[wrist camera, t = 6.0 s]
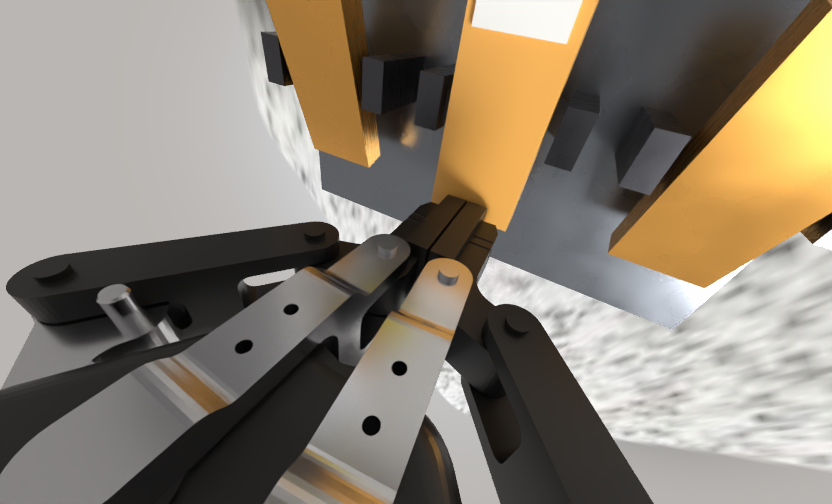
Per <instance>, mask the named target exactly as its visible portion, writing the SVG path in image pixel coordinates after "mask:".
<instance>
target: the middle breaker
mask: <svg viewBox="0 0 832 504" xmlns="http://www.w3.org/2000/svg"><path fill="white" fill-rule="evenodd" d="M598 3H599V0H468V1H467V7H466V12H465V18H464V23H463V29H462V34H461V40H460V45H459V51H458V56H457V62H456V67H455V73H454V78H453V84H452V89H451V95H450V100H449V106H448V111H447V117H446V122H445V128H444V133H443V139H442V144H441V150H440V155H439V161H438V166H437V172H436V177H435V183H434V188H433V194H432V199H431V202H433V203H436V204H439V203H440V202H441V201H442V200H443V199H444V198H445V197H446V196H447V195H448V194H449V195H452V196H455V197H458V198H461V199H464V200H466V201H467V202H468V201H469V202H472V203H475V204H478V205H481V206H483V207H486V208H487V212H486V215H485V218H484V221H485V222H488V223H490V224H493V225H496V228H497V229H500V230H502V231H506V229H507V227H508V225H509V223H510V221H511V219H512V216H513V214H514V211H515V209H516V206H517V204H518V201H519V199H520V196H521V194H522V191H523V189H524V186H525V184H526V181H527V179H528V176H529V174H530V171H531V169H532V166H533V164H534V162H535V159H536V157H537V154H538V152H539V149H540V147H541V144H542V142H543V139H544V137H545V134H546V132H547V129H548V127H549V124H550V122H551V119H552V117H553V114H554V112H555V109H556V107H557V104H558V102H559V99H560V97H561V94H562V92H563V89H564V87H565V84H566V82H567V80H568V77H569V75H570V72H571V70H572V67H573V65H574V62H575V60H576V57H577V55H578V52H579V50H580V47H581V45H582V42H583V40H584V37H585V35H586V32H587V30H588V27H589V25H590V22H591V20H592V17H593V15H594V12H595V10H596V7H597V5H598Z"/></svg>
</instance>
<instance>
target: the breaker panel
mask: <svg viewBox="0 0 832 504" xmlns="http://www.w3.org/2000/svg"><path fill="white" fill-rule="evenodd" d="M467 1H468V0H266V2H267V5H268V8H269V11H270V14H271V17H272V20H273V23H274V26H275V29H276V32H261V36H262V42H263V49H264V55H265V61H266V67H267V73H268V79H269V82H273V83H276V84H279V85H283V86H287V85H293V84H294V87H295V90H296V93H297V96H298V99H299V102H300V105H301V108H302V111H303V114H304V117H305V121H306V124H307V127H308V130H309V133H310V136H311V139H312V142H313V145H314V148H315V149H318V150H319V156H320V169H321V182H322V189H323V190H325V191H328V192H330V193H333V194H335V195H338V196H340V197H343V198H345V199H348V200H350V201H353V202H355V203H358V204H360V205H363V206H365V207H368V208H370V209H373V210H375V211H378V212H380V213H383V214H385V215H388V216H390V217H393V218H395V219H398V220H400V221H405V220H406V219H408V217H409V216H410V215H411V214H412V213H413V212H414V211H415V210H416V209H417V208H418V207H419V206H420V205H423V204H426V203H429V202H431V199H432V194H433V188H434V183H435V177H436V172H437V166H438V161H439V155H440V150H441V144H442V139H443V133H444V128H445V122H446V117H447V111H448V106H449V100H450V95H451V89H452V84H453V78H454V73H455V67H456V62H457V56H458V51H459V45H460V40H461V34H462V29H463V23H464V18H465V12H466V7H467ZM496 229H497V228H496ZM798 232H801V233H802V234H803V235H804V236H805V237H806V238H807V239H808V240H809V241H810V242H811V243H812V244H814V245H817V246H820V247H824V248H827V249H830V250H832V0H599V3H598V5H597V7H596V10H595V12H594V15H593V17H592V20H591V22H590V25H589V27H588V30H587V32H586V35H585V37H584V40H583V42H582V45H581V47H580V50H579V52H578V55H577V57H576V60H575V62H574V65H573V67H572V70H571V72H570V75H569V77H568V80H567V82H566V84H565V87H564V89H563V92H562V94H561V97H560V99H559V102H558V104H557V107H556V109H555V112H554V114H553V117H552V119H551V122H550V124H549V127H548V129H547V132H546V134H545V137H544V139H543V142H542V144H541V147H540V149H539V152H538V154H537V157H536V159H535V162H534V164H533V166H532V169H531V171H530V174H529V176H528V179H527V181H526V184H525V186H524V189H523V191H522V194H521V196H520V199H519V201H518V204H517V206H516V209H515V211H514V214H513V216H512V219H511V221H510V223H509V225H508V227H507V229H506V231H502V230H500V229H497V233H498V236H497V238H496V241H495V244H494V246H493V249H492V251H491V254H490V257H492V258H495V259H497V260H500V261H502V262H505V263H507V264H510V265H512V266H515V267H517V268H520V269H522V270H525V271H527V272H530V273H532V274H535V275H537V276H540V277H542V278H545V279H547V280H550V281H552V282H555V283H557V284H560V285H562V286H565V287H567V288H570V289H572V290H575V291H577V292H579V293H582V294H584V295H587V296H589V297H592V298H594V299H597V300H599V301H602V302H604V303H607V304H609V305H612V306H614V307H617V308H619V309H622V310H624V311H627V312H629V313H632V314H634V315H637V316H639V317H642V318H644V319H647V320H649V321H652V322H654V323H657V324H659V325H662V326H664V327H667V328H669V329H672V330H673V329H674V328H675V327H677V326H678V325H679V324H680V323H681V322H682V321H683V320H685V319H686V318H687V317H688V316H689V315H690V314H691V313H693V312H694V311H695V310H696V309H697V308H698V307H699V306H701V305H702V304H703V303H704V302H705V301H706V300H707V299H708V298H710V297H711V296H712V295H713V294H714V293H715V292H716V291H718V290H719V289H720V288H721V287H722V286H723V285H724V284H726V283H727V282H728V281H729V280H730V279H731V278H732V277H734V276H735V275H736V274H737V273H738V272H739V271H740V270H742V269H743V268H744V267H745V266H746V265H747V264H748V263H750V262H751V261H752V260H753V259H755V258H756V257H758V256H760V255H761V254H763V253H765V252H766V251H768V250H770V249H771V248H773V247H775V246H776V245H778V244H780V243H781V242H783V241H785V240H786V239H788V238H790V237H791V236H793V235H795V234H796V233H798Z"/></svg>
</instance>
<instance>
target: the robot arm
mask: <svg viewBox="0 0 832 504" xmlns="http://www.w3.org/2000/svg"><path fill="white" fill-rule="evenodd" d="M486 212H487V208H486V207H483V206H481V205H478V204H475V203H472V202H469V201H468V202H467V201H466V200H464V199H461V198H458V197H455V196H452V195H449V194H448V195H447V196H446V197H445V198H444V199H443V200H442V201H441V202H440V203H439V204H436V203H433V202H429V203H426V204H423V205H420V206H419V207H418V208H417V209H416V210H415V211H414V212H413V213H412V214H411V215H410V216H409V217H408V219H406V220H405V221H403V222H402V223H401V224H400V225H399V226H398V227H397V228H396V229H395V230H394V231H393V232H392V233H391V234H380V235H375V236H372V237H370V238H369V239H367V240H366V241H365V242H363V243H362V244H355V243H350V242H344V241H339V232H338V230H337V229H336V228H335V227H334V226H333V225H330V224H328V223H324V222H306V223H298V224H291V225H283V226H276V227H268V228H261V229H254V230H246V231H239V232H230V233H223V234H215V235H208V236H200V237H193V238H185V239H178V240H170V241H163V242H155V243H147V244H140V245H133V246H125V247H117V248H109V249H102V250H94V251H87V252H79V253H72V254H64V255H59V256H54V257H50V258H47V259H44V260H41V261H38V262H36V263H33V264H31V265H29V266H27V267H25V268H23V269H22V270H20V271H19V272H17V273H16V274H15V275H13V276H12V278H11V279H10V280H9V281H8V282H7V285H6V290H7V292H8V293H9V294H10V295H11V296H12V297H13V298H14V299H15V300H16V301H17V302H18V303H19V304H20V305H21V306H22V307H23V308H24V309H25V310H27V312H29V313H30V314H31V315H32V318H33V320H34V322H35V324H34V327H33V329H32V331H31V333H30V334H29V336H28V338H27V340H26V342H25V344H24V346H23V348H22V350H21V352H20V354H19V356H18V358H17V359H16V361H15V363H14V365H13V367H12V369H11V371H10V373H9V375H8V377H7V379H6V381H5V383H4V385H3V387H2V388H1V390H0V504H462V503H461V498H460V493H459V489H458V484H457V480H456V475H455V471H454V467H453V463H452V461H451V458H450V455H449V452H448V449H447V447H446V445H445V443H444V441H443V439H442V437H441V435H440V434H439V432H438V430H437V429H436V427H435V426H434V424H433V423H432V422H431V420H430V419H429V418H428V417H427V416H426V415H425V413H426V410H427V407H428V404H429V402H430V399H431V396H432V393H433V391H434V388H435V385H436V383H437V380H438V377H439V374H440V371H441V369H442V366H443V363H444V360H446V361H447V362H448V363H449V364H450V365H451V366H452V367H453V368H454V369H455V370H456V371H457V372H458V373H459V374H461V384H462V387H463V391H464V394H465V397H466V400H467V403H468V406H469V409H470V412H471V415H472V418H473V421H474V424H475V427H476V430H477V433H478V436H479V439H480V442H481V445H482V449H483V452H484V455H485V458H486V461H487V464H488V467H489V470H490V473H491V476H492V479H493V482H494V485H495V488H496V491H497V494H498V497H499V500H500V503H501V504H653V502H652V500H651V499H650V497H649V495H648V494H647V492H646V491H645V489H644V488H643V486H642V484H641V483H640V481H639V480H638V478H637V476H636V475H635V473H634V471H633V470H632V468H631V467H630V465H629V464H628V462H627V460H626V459H625V457H624V456H623V454H622V452H621V451H620V449H619V448H618V446H617V444H616V443H615V441H614V440H613V438H612V436H611V435H610V433H609V432H608V430H607V428H606V427H605V425H604V424H603V422H602V420H601V419H600V417H599V416H598V414H597V412H596V411H595V409H594V408H593V406H592V405H591V403H590V401H589V400H588V398H587V397H586V395H585V393H584V392H583V390H582V389H581V387H580V385H579V384H578V382H577V381H576V379H575V377H574V376H573V374H572V373H571V371H570V369H569V368H568V366H567V365H566V363H565V361H564V360H563V358H562V357H561V355H560V353H559V352H558V350H557V349H556V347H555V346H554V344H553V342H552V341H551V339H550V338H549V336H548V334H547V333H546V331H545V330H544V328H543V326H542V325H541V323H540V322H539V321H538V319H537V318H536V317H535V316H534V315H533V314H531V313H530V312H529V311H527V310H525V309H523V308H521V307H519V306H516V305H511V304H501V305H498V306H494V305H493V304H492V303H490V302H489V301H488V300H487V299H486V298H485V297H484V296H483V295H482V294H481V292H480V291H479V289H478V286H477V283H478V281H479V279H480V277H481V275H482V273H483V271H484V269H485V267H486V264H487V262H488V259H489V256H490V254H491V251H492V249H493V246H494V244H495V241H496V238H497V236H498V233H497V229H496V225H493V224H490V223H488V222H485V221H484V218H485V215H486ZM292 268H294V269H295V274H294V275H293V276H292V277H290V278H289V279H287V280H285V281H280V282H275V283H271V284H265V285H261V286H249V285H247V284H245V283H244V281H243V279H245V278H247V277H251V276H256V275H261V274H266V273H272V272H277V271H282V270H287V269H292Z"/></svg>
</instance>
